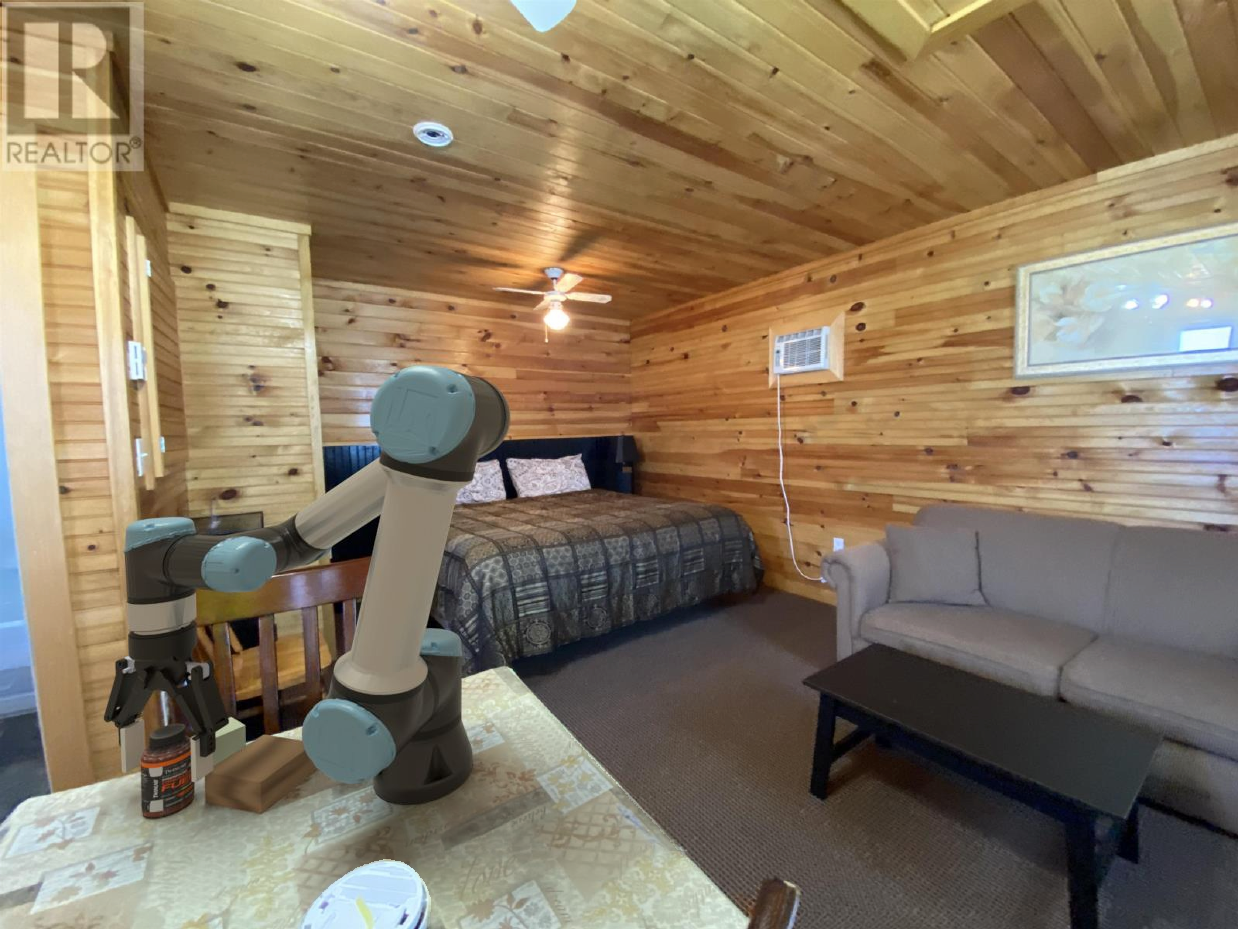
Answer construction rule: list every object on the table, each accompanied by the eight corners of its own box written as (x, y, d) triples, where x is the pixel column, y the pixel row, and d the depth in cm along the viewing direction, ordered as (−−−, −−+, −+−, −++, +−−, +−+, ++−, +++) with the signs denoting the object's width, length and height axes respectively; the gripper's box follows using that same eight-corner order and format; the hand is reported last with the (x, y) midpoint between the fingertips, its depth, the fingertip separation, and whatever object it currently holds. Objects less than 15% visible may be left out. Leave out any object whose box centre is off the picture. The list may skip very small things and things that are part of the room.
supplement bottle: (163, 823, 73) (161, 745, 72) (130, 816, 74) (127, 739, 73) (205, 794, 79) (203, 722, 78) (173, 788, 80) (171, 717, 79)
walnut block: (315, 772, 85) (315, 742, 84) (261, 815, 75) (260, 782, 75) (264, 763, 87) (263, 734, 86) (205, 804, 77) (204, 772, 77)
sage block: (245, 753, 89) (245, 725, 89) (211, 769, 85) (210, 739, 84) (231, 744, 92) (231, 717, 91) (197, 759, 87) (196, 730, 87)
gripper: (257, 622, 77) (260, 764, 78) (122, 610, 80) (127, 747, 82) (210, 642, 70) (214, 798, 71) (64, 628, 73) (70, 778, 74)
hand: (167, 771), depth 76 cm, fingers open, 11 cm apart
